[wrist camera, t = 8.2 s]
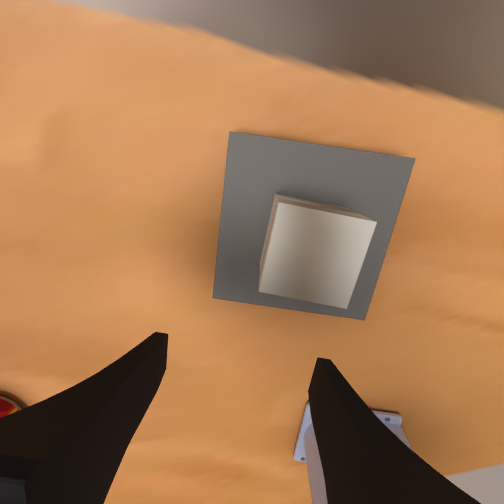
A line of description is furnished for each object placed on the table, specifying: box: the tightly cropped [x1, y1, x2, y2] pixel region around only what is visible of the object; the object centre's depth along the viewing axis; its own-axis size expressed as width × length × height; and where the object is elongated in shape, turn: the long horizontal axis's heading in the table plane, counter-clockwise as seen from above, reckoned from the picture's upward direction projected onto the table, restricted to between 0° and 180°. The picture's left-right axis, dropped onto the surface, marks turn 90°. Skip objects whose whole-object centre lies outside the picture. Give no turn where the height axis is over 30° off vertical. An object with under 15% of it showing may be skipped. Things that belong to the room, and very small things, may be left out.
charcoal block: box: [212, 131, 415, 320], centre depth 20 cm, size 12×12×3 cm
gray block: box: [259, 193, 377, 309], centre depth 16 cm, size 5×5×5 cm
